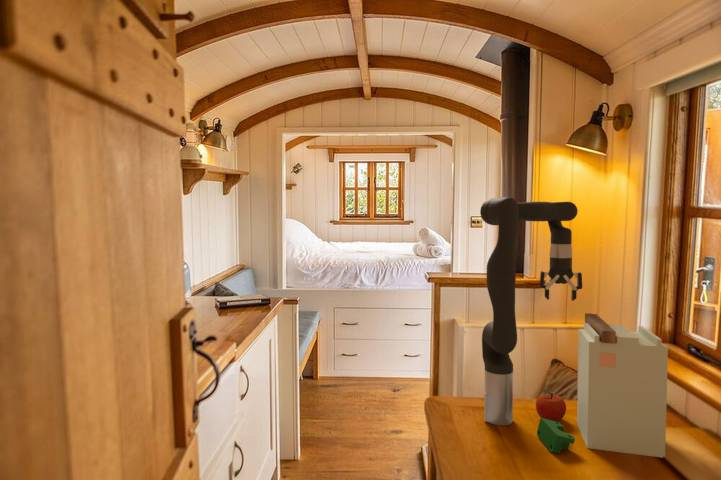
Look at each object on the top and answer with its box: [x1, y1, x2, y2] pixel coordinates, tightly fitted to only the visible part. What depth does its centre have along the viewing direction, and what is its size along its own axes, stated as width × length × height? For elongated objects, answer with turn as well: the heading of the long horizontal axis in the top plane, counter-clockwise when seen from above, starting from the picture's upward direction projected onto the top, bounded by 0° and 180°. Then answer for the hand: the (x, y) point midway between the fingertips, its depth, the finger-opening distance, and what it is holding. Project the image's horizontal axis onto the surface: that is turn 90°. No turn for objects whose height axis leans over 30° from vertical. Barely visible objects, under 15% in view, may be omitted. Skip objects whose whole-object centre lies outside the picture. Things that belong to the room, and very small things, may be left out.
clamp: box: [536, 417, 576, 454], centre depth 131 cm, size 12×6×9 cm, turn 175°
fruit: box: [535, 389, 567, 422], centre depth 148 cm, size 10×10×10 cm
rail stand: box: [576, 322, 669, 459], centre depth 133 cm, size 20×16×34 cm
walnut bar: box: [584, 312, 616, 344], centre depth 137 cm, size 4×24×4 cm, turn 163°
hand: (560, 299), depth 161 cm, fingers open, 8 cm apart
